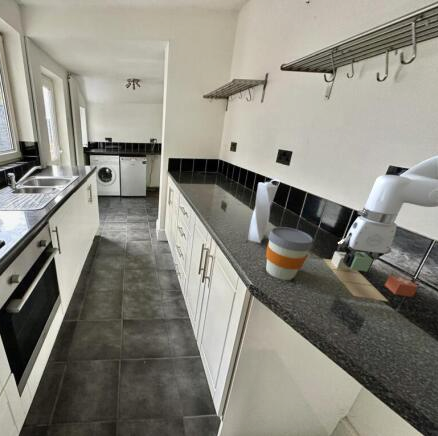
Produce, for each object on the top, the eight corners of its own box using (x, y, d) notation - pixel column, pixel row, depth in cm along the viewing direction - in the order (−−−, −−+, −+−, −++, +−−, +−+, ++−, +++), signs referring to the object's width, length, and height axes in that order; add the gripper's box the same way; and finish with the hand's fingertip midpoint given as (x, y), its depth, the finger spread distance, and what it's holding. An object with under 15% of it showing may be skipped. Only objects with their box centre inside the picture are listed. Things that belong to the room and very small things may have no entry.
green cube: (359, 264, 79) (364, 252, 78) (367, 271, 75) (373, 259, 73) (343, 261, 80) (348, 250, 79) (351, 269, 76) (356, 257, 74)
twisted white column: (266, 239, 106) (281, 178, 96) (263, 245, 100) (279, 182, 90) (248, 234, 110) (261, 176, 100) (244, 240, 104) (258, 179, 94)
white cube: (344, 263, 87) (349, 253, 85) (351, 270, 83) (356, 259, 81) (330, 261, 88) (335, 251, 86) (336, 268, 84) (341, 257, 82)
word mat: (348, 264, 89) (349, 262, 88) (387, 303, 69) (389, 301, 68) (321, 260, 90) (322, 258, 90) (352, 297, 71) (353, 295, 70)
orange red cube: (400, 289, 75) (406, 277, 73) (411, 298, 71) (418, 286, 69) (383, 286, 76) (389, 275, 74) (393, 296, 72) (400, 283, 70)
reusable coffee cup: (268, 258, 90) (278, 223, 84) (305, 273, 82) (318, 235, 76) (254, 270, 82) (264, 233, 77) (293, 288, 74) (307, 247, 68)
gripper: (352, 216, 69) (332, 267, 76) (421, 224, 66) (393, 277, 72) (340, 208, 76) (322, 256, 83) (402, 215, 72) (377, 264, 79)
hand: (355, 265), depth 78 cm, fingers closed on green cube, 4 cm apart
